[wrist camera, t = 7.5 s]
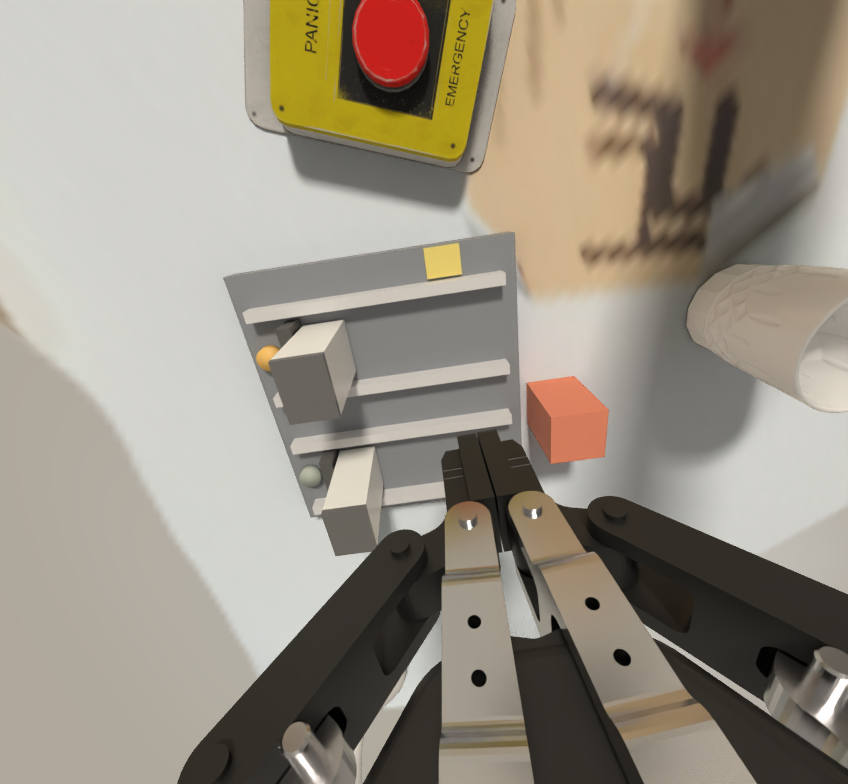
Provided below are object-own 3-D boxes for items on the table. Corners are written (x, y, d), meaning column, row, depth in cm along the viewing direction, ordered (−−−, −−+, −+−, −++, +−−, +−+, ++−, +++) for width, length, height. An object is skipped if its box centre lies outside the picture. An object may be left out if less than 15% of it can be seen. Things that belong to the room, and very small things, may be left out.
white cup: (779, 235, 27) (966, 245, 18) (783, 330, 30) (942, 380, 21) (670, 283, 28) (793, 315, 19) (684, 370, 31) (796, 432, 22)
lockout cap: (573, 375, 31) (608, 409, 26) (572, 416, 33) (604, 456, 28) (526, 382, 31) (551, 417, 26) (527, 423, 33) (550, 463, 28)
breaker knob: (374, 446, 31) (365, 508, 25) (383, 483, 33) (376, 550, 26) (339, 450, 31) (321, 514, 25) (350, 487, 33) (335, 556, 27)
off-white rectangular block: (343, 319, 27) (322, 354, 20) (356, 370, 28) (340, 418, 22) (303, 325, 27) (267, 362, 20) (317, 375, 28) (289, 425, 22)
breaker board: (509, 231, 26) (524, 234, 23) (518, 478, 36) (530, 507, 32) (232, 274, 27) (205, 283, 23) (314, 506, 36) (304, 537, 33)
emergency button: (491, 169, 21) (216, 108, 19) (478, 176, 25) (249, 126, 23) (542, -59, 17) (204, -159, 16) (518, -8, 21) (246, -83, 20)
